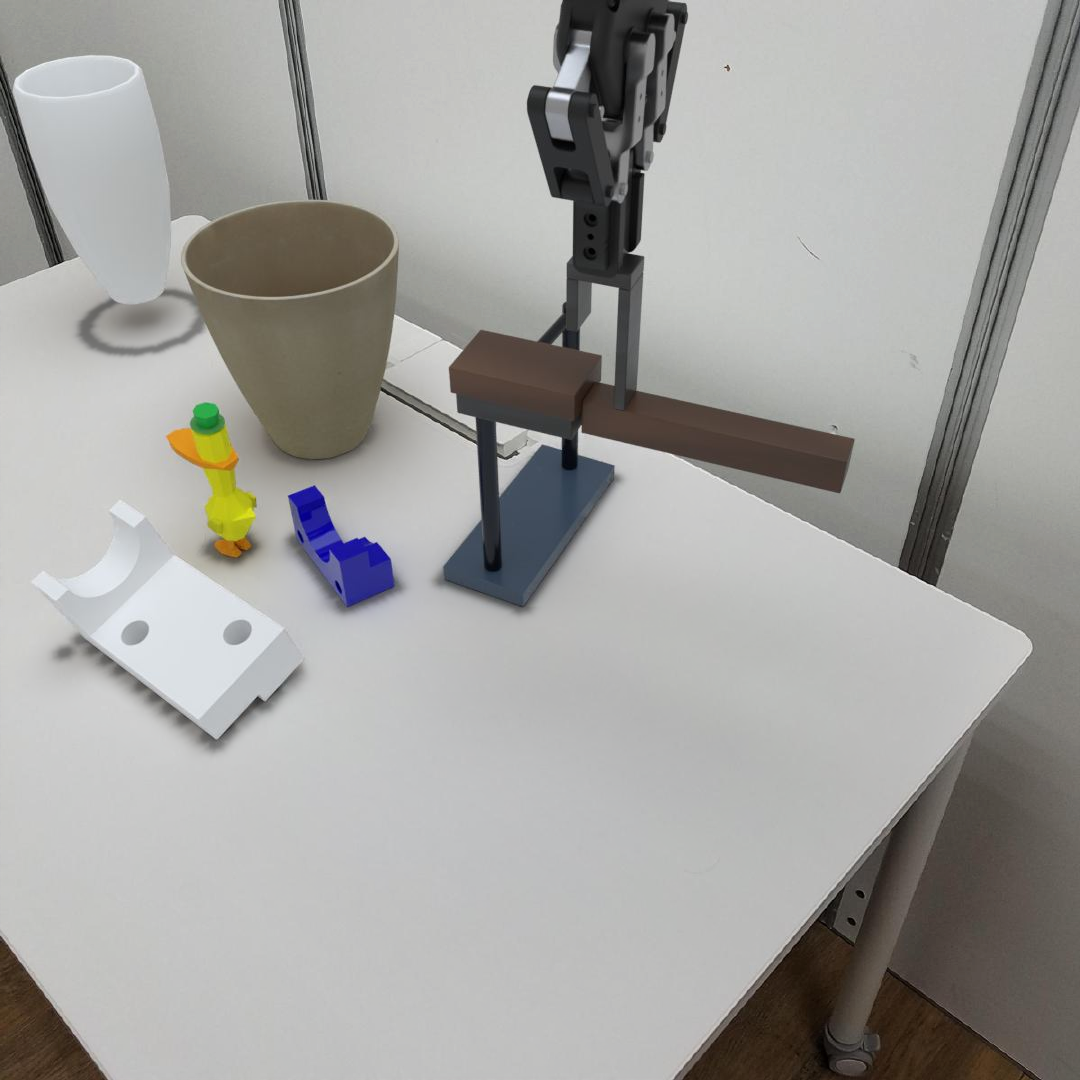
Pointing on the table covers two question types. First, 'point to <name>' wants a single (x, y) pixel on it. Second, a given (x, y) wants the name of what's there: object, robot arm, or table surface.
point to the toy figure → (217, 477)
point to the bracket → (174, 626)
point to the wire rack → (527, 508)
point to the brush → (629, 394)
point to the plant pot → (300, 315)
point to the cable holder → (339, 550)
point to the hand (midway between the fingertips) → (607, 257)
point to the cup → (101, 168)
